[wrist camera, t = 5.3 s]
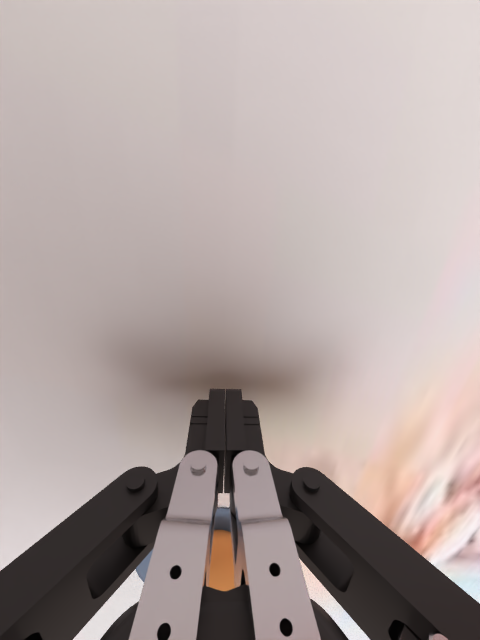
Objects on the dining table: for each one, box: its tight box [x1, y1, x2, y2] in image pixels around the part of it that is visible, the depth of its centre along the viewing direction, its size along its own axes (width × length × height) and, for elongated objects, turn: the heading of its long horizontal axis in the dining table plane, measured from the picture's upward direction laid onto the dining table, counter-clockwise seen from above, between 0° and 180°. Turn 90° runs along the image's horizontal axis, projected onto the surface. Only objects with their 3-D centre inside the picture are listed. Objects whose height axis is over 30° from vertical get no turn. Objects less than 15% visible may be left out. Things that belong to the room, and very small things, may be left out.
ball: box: [209, 530, 234, 591], centre depth 17 cm, size 6×6×6 cm
